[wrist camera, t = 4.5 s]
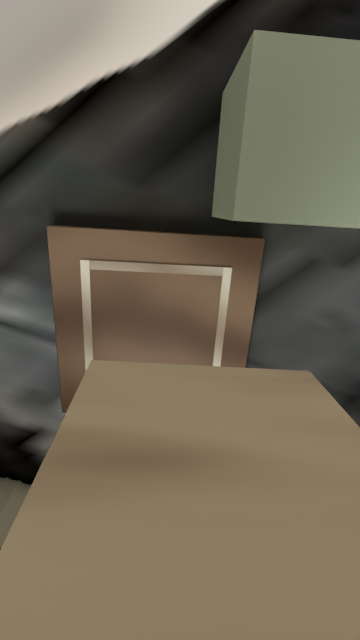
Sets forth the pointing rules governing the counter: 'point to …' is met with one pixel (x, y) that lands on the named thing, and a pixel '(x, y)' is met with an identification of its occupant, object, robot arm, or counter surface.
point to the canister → (10, 503)
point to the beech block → (190, 511)
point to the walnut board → (150, 298)
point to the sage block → (291, 133)
